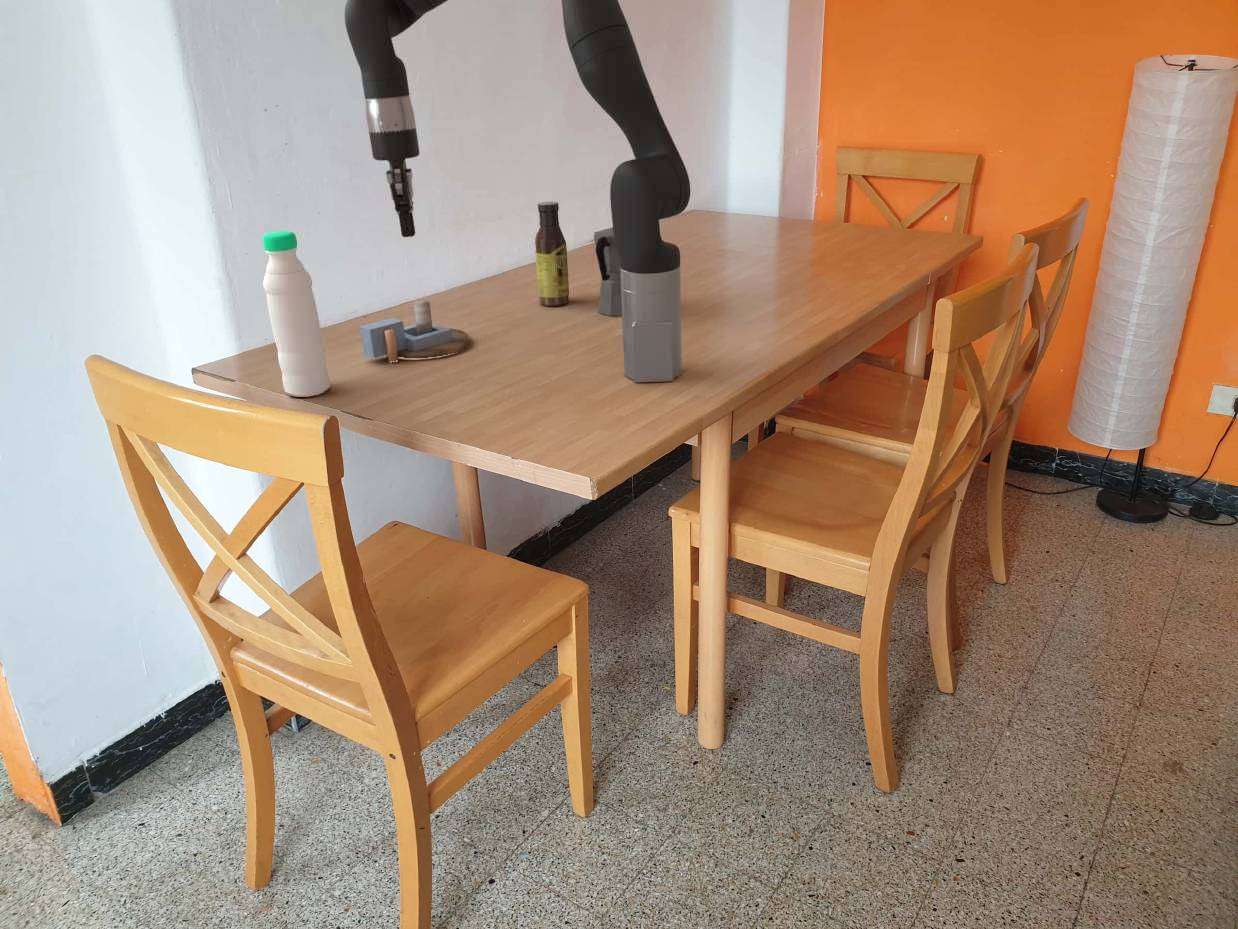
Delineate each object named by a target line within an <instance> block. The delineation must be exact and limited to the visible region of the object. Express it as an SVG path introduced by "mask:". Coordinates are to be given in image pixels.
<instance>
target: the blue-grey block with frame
mask: <svg viewBox="0 0 1238 929" xmlns="http://www.w3.org/2000/svg"><path fill="white" fill-rule="evenodd" d="M432 326H433V332H430V333H426V334H423V335H419V336H418V335H417V327H416V323H414V324H411V325H408V326H404V321H403V320H401V319H398V318H396V317H390V318H387V319H382V320H379V321H374V322H371V323H367V324H364V325H359V330H360V335H361V344H362V349H363V354H364V355H365V356H368V357H371V358H372V359H375V358H379V357H380V358H381V357H383V356H387V354H388V353H387V346H386V339H385V333H384V331H385V330H389V329H392V330H394V334H395V341H396V348H397V351H401V350H404V349H409V350H412V351H418V350H421V349H425V348H428V347H431V346H435V345H438V344H442V343H445V342H448V341H452V331H451V329H452V328H451V329H448V328H449V327H445V326H442V325H438V324H436V323H432Z"/></svg>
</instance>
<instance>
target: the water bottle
mask: <svg viewBox="0 0 1238 929" xmlns="http://www.w3.org/2000/svg"><path fill="white" fill-rule="evenodd" d="M262 245H263V248H264V250H265V253H266V254H267V255H268V256H269V258H268V262H267V265H266V269H265V270H266V271H265V274H264V277H263V282H262V285H263V290H264V291H265V293H266V299H267V300H266V301H267V309H268V314H269V319H270V325H271V329H272V330H271V331H272V334H273V337H274V341H275V344H276V345H275V346H276V348H277V358H278V364H279V367H280V370H281V376H282V377H281V378H282V385H283V391H284V390H285V391H284V393H285V392H287V393H290V394H294V395H311V394H317V393H321V392H323V391H325V390H327V389H328V388H329V389H330V387H331V380H330V376H329V371H328V368H327V366H326V365H327V364H326V363H327V362H326V361H327V360H326V354H325V349H324V346H323V344H322V332H321V327H320V326H321V325H320V320H319V314H318V309H317V304H316V300H315V299H316V298H315V297H314V296H315V295H314V292H313V288H312V286H313V279H312V277H311V275H310V273H309V272H308V270H307V269H306V268H305V267H304V264H303V262H302V261H301V260H300V259H299V258H298V256H297V253H296V252H297V251H298V240H297V237H296V234H295V233H294V232H292V231H286V230H283V231H282V230H281V231H273V232H269V233H266V234H264V235H263V236H262ZM329 389H328V390H329ZM328 390H327V391H328Z"/></svg>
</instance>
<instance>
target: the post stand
mask: <svg viewBox="0 0 1238 929" xmlns="http://www.w3.org/2000/svg"><path fill="white" fill-rule="evenodd" d="M430 303H431V302H430V301H428V300H418V301H415V302H413V304H412V305H413V311H414V312H413V313H414V320H415V324H416V327H417V335H418V336H419V335H423V334H426V333H430V332H433V326H432V324H433V321H432V320H433V318H432V313H431V312H432V311H431V304H430ZM447 328H448V329H451V331H452V341H448V342H445V343H442V344H438V345H435V346H431V347H428V348H425V349H421V350H418V351H412V350H409V349H404V350H401V351H397V355H398V357H404V358H428V357H437V356H443V355H448V354H452V353H456V352H459V351H461V350H463V349H465V348H466V347H467V346H468V345H469V346H470V338H469V334H468V333H466V332H465V331H463V330H461V329H455V328H449V327H447ZM469 346H468V347H469ZM468 347H467V348H468ZM467 348H466V349H467ZM466 349H465V350H466ZM463 351H464V350H463ZM461 352H462V351H461ZM459 353H460V352H459Z"/></svg>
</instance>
